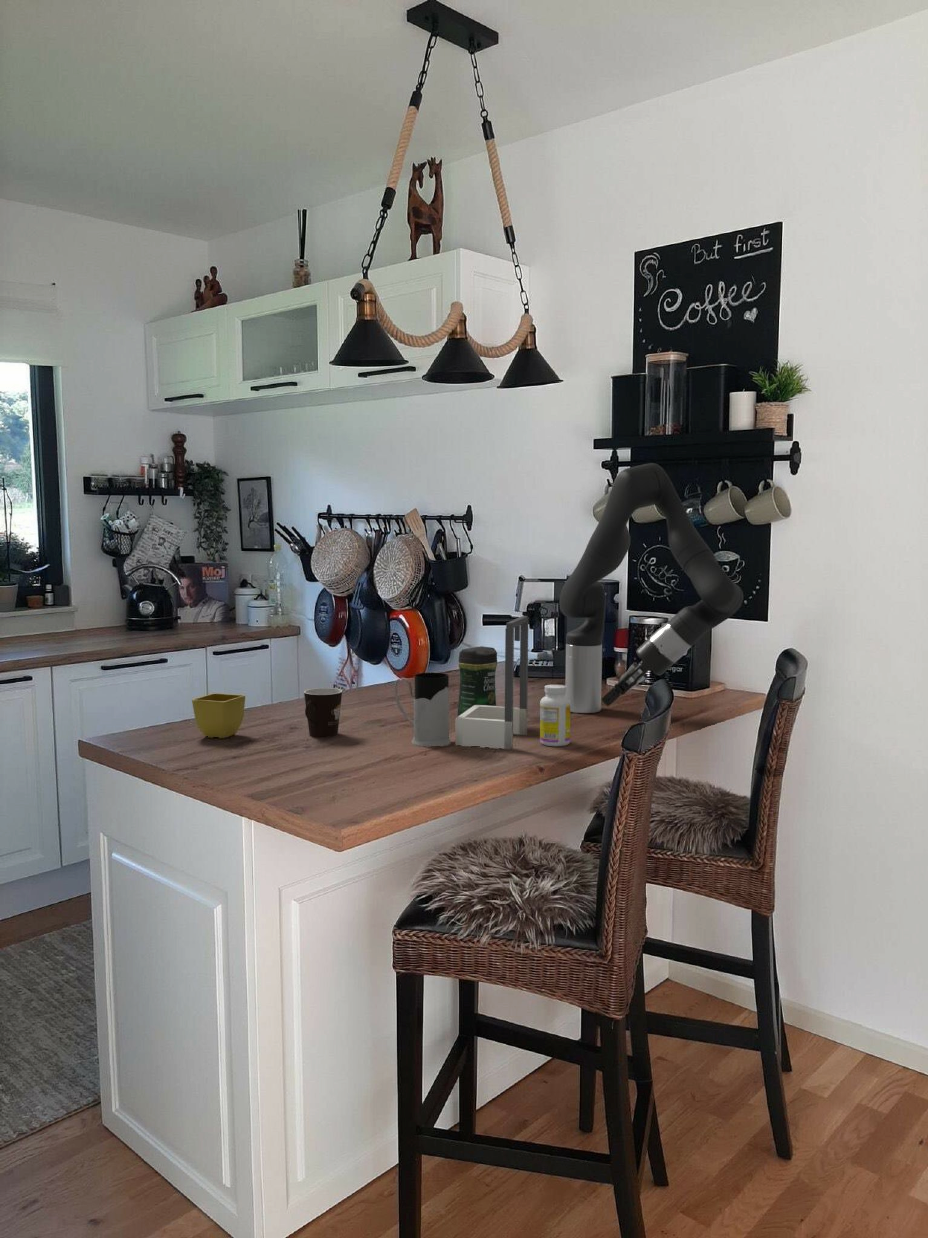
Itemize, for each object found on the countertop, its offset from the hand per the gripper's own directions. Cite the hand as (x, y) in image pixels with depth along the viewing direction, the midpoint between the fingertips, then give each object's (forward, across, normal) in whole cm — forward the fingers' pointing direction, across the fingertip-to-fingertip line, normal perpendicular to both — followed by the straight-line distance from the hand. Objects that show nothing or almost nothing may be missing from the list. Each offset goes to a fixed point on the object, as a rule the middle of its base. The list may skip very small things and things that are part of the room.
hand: (604, 702), depth 209 cm
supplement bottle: (+15, 0, -1) cm, 15 cm away
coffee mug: (+52, +8, -38) cm, 65 cm away
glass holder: (+35, +6, -21) cm, 41 cm away
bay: (+24, 0, -11) cm, 27 cm away
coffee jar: (+30, -16, -16) cm, 38 cm away
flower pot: (+67, +15, -53) cm, 87 cm away
